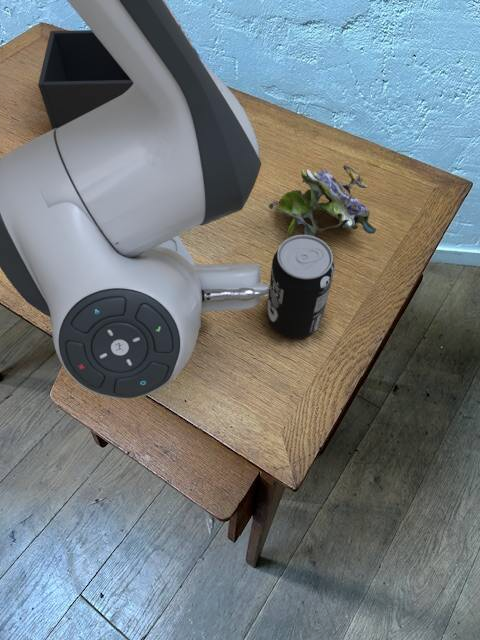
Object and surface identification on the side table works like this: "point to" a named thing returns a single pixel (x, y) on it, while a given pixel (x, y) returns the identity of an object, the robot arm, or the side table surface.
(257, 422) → the side table surface
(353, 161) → the side table surface
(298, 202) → the passion flower
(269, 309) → the beverage can
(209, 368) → the side table surface
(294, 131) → the side table surface
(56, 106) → the open storage bin
